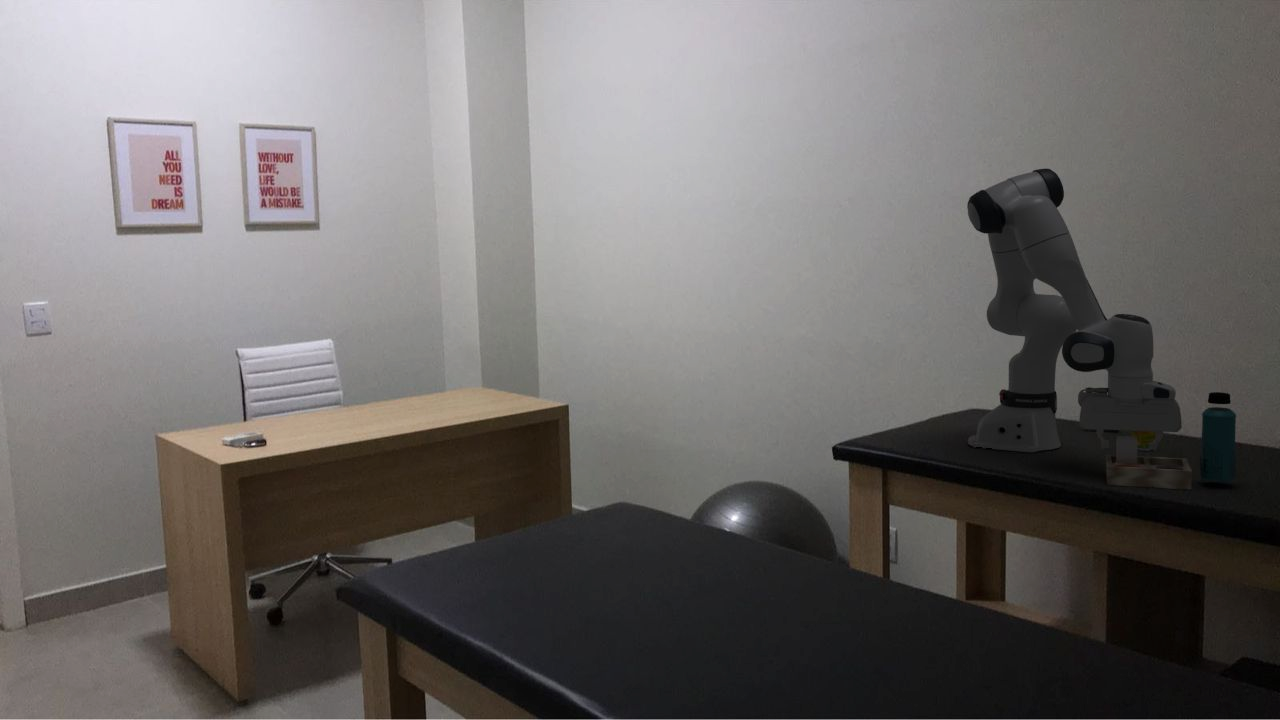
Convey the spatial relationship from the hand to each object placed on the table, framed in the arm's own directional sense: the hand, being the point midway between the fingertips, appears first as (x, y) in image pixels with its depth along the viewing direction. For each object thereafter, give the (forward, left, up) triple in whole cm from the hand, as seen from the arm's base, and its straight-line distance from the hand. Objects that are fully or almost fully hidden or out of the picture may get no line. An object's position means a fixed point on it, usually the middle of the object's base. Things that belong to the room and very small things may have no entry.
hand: (1128, 449), depth 218 cm
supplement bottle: (+5, +31, -7) cm, 32 cm away
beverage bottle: (+17, -3, -7) cm, 18 cm away
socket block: (+4, -2, -6) cm, 7 cm away
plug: (0, 0, -6) cm, 6 cm away
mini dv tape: (-4, +51, -7) cm, 52 cm away
